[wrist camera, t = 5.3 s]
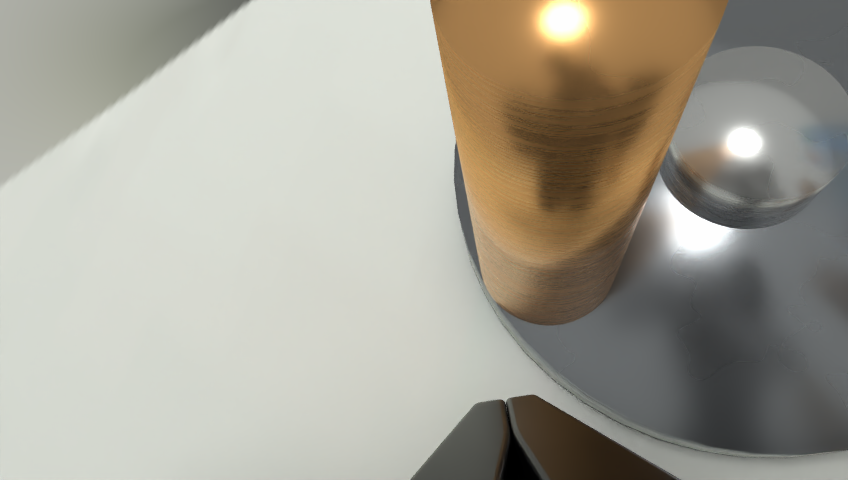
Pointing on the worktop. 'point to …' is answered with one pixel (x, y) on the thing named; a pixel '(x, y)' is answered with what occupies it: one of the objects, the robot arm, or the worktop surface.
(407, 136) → the worktop surface
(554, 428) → the robot arm
